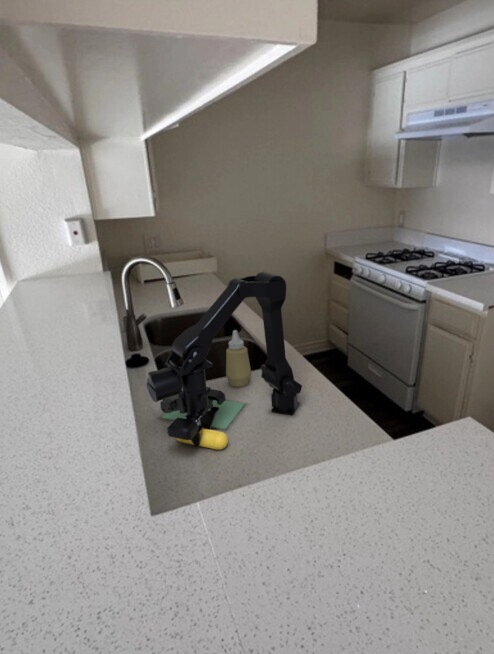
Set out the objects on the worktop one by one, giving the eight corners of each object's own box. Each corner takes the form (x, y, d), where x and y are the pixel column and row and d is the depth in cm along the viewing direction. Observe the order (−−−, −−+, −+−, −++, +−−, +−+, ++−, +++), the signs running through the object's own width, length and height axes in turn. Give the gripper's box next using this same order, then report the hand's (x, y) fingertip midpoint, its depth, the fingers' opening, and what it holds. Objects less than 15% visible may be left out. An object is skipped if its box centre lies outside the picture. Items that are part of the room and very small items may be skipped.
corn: (231, 444, 105) (230, 429, 103) (223, 454, 101) (222, 439, 100) (182, 434, 110) (179, 420, 108) (173, 444, 106) (170, 429, 104)
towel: (245, 404, 122) (244, 403, 122) (225, 429, 111) (225, 428, 111) (185, 395, 129) (185, 394, 129) (161, 417, 118) (161, 416, 117)
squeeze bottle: (253, 377, 138) (250, 326, 130) (250, 389, 131) (246, 336, 123) (229, 376, 139) (224, 326, 131) (224, 388, 131) (219, 336, 124)
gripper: (185, 365, 109) (192, 416, 116) (142, 401, 94) (153, 457, 100) (223, 371, 106) (228, 422, 112) (185, 409, 90) (194, 466, 96)
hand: (201, 440), depth 105 cm, fingers closed on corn, 4 cm apart
